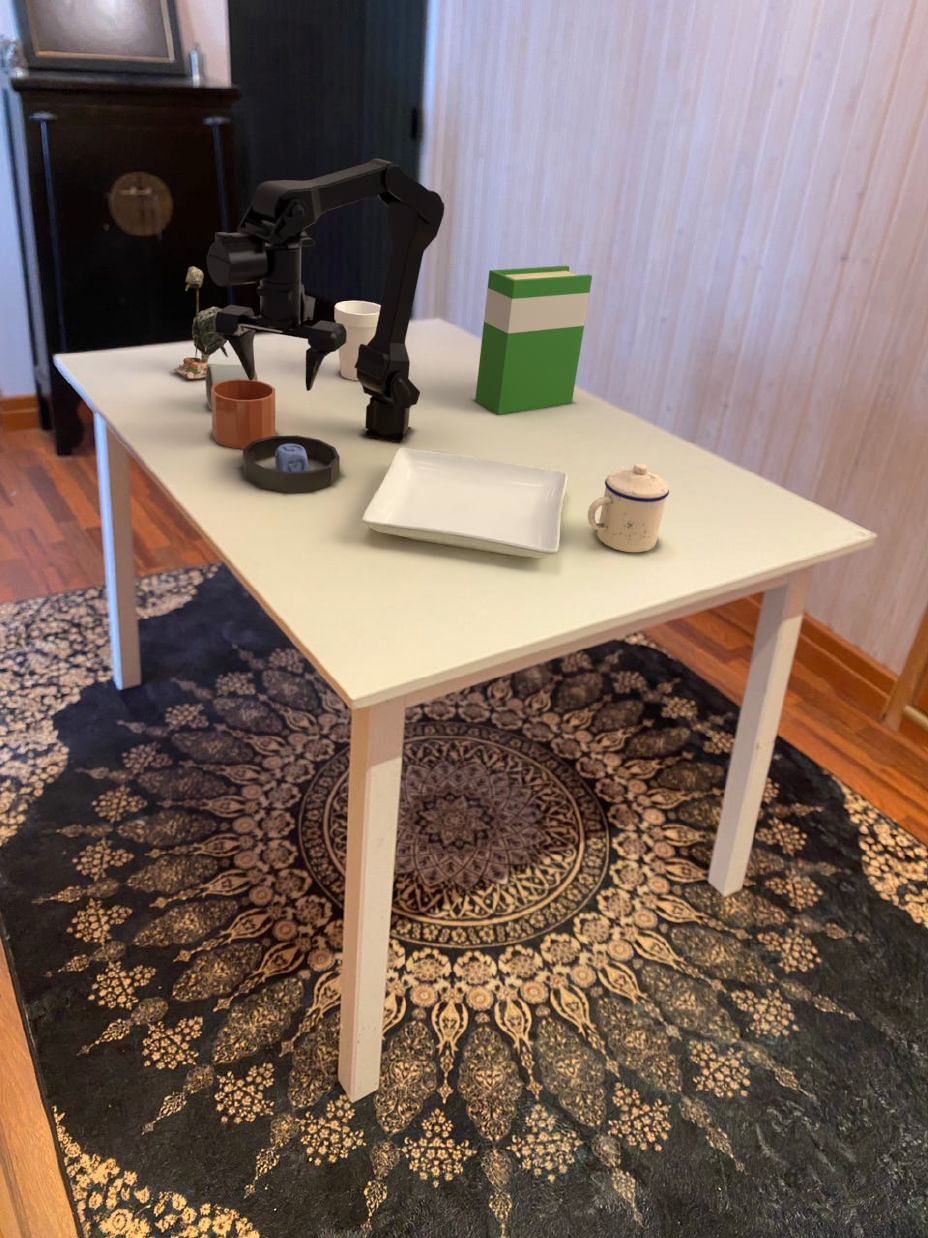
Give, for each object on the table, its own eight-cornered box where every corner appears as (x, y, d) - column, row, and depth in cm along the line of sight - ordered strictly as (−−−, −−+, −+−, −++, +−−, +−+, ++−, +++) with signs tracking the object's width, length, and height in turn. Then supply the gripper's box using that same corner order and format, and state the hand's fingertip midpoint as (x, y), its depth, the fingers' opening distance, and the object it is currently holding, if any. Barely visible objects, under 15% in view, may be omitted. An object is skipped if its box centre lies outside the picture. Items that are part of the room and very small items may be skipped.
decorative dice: (274, 468, 156) (274, 444, 154) (299, 466, 158) (300, 442, 156) (282, 479, 153) (282, 454, 151) (307, 476, 155) (308, 452, 153)
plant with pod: (240, 376, 190) (238, 266, 179) (182, 383, 183) (177, 270, 173) (222, 362, 195) (219, 255, 184) (165, 369, 189) (159, 258, 178)
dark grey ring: (349, 463, 160) (350, 445, 159) (319, 499, 149) (319, 479, 147) (265, 448, 162) (265, 429, 161) (228, 482, 151) (228, 462, 149)
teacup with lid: (633, 521, 153) (648, 449, 146) (669, 549, 146) (686, 475, 140) (566, 531, 147) (579, 457, 141) (600, 561, 141) (615, 484, 135)
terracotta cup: (284, 431, 169) (284, 385, 165) (261, 453, 161) (260, 405, 156) (228, 421, 170) (227, 375, 166) (202, 442, 162) (200, 394, 158)
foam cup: (325, 377, 194) (326, 308, 187) (343, 363, 201) (346, 297, 194) (371, 386, 192) (374, 317, 185) (388, 372, 199) (392, 306, 192)
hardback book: (548, 390, 200) (566, 265, 187) (571, 402, 195) (592, 275, 182) (475, 400, 191) (489, 270, 178) (498, 414, 186) (514, 281, 173)
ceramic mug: (260, 413, 174) (260, 370, 170) (213, 416, 171) (211, 371, 167) (247, 393, 183) (246, 351, 179) (201, 395, 180) (199, 352, 176)
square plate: (358, 543, 138) (359, 518, 136) (397, 466, 161) (399, 443, 159) (554, 573, 136) (558, 548, 134) (565, 491, 160) (569, 468, 158)
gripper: (360, 277, 149) (356, 379, 158) (242, 257, 152) (244, 359, 160) (335, 294, 140) (331, 401, 148) (210, 273, 143) (213, 380, 151)
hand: (280, 384), depth 152 cm, fingers open, 9 cm apart
